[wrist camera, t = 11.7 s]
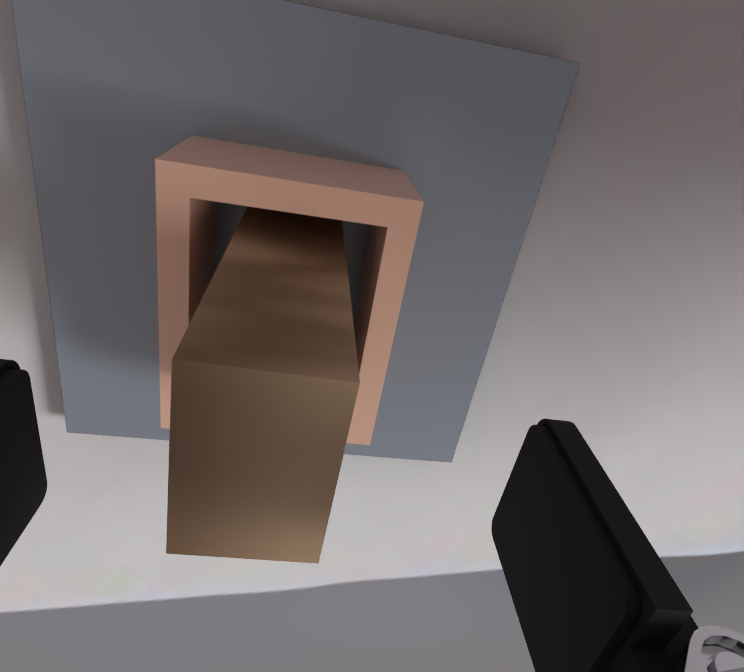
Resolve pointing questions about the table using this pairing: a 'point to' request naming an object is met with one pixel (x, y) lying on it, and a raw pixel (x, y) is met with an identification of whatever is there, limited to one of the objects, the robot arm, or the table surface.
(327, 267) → the wooden rectangular block
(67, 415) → the square base with socket
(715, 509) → the table surface
